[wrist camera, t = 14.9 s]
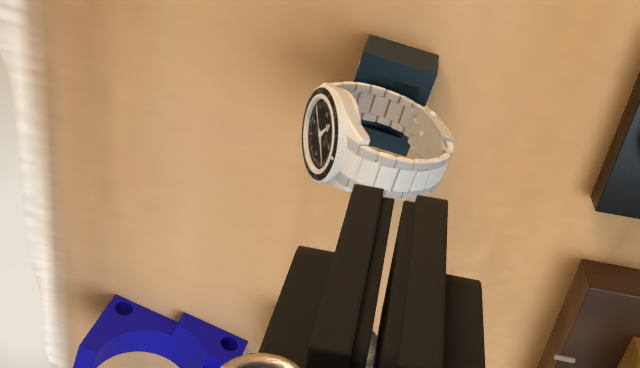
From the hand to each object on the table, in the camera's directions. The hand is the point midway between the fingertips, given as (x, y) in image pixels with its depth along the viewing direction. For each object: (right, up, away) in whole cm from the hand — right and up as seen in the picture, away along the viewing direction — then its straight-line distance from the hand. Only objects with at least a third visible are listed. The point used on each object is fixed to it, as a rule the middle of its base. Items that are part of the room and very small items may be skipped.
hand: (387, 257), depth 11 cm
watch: (+3, +8, +27) cm, 28 cm away
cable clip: (-14, -11, +43) cm, 46 cm away
